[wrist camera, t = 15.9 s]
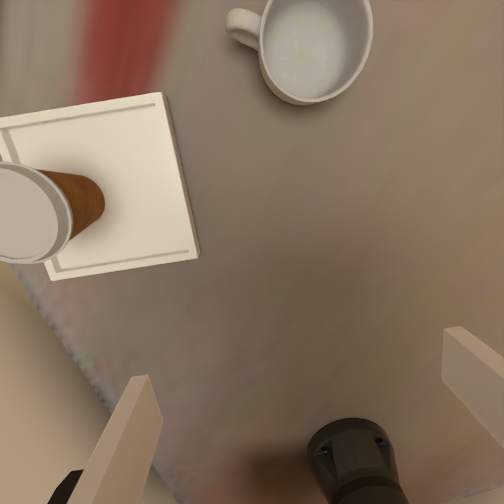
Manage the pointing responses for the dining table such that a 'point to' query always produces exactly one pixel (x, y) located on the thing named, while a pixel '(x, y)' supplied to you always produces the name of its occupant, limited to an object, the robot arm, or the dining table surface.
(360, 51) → the teacup
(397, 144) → the dining table surface
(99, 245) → the tray
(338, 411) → the dining table surface
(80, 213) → the disposable coffee cup
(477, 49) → the dining table surface
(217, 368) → the dining table surface
